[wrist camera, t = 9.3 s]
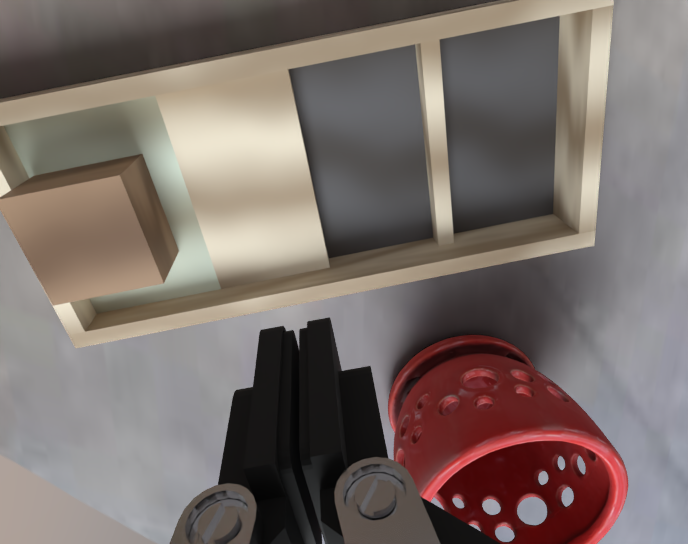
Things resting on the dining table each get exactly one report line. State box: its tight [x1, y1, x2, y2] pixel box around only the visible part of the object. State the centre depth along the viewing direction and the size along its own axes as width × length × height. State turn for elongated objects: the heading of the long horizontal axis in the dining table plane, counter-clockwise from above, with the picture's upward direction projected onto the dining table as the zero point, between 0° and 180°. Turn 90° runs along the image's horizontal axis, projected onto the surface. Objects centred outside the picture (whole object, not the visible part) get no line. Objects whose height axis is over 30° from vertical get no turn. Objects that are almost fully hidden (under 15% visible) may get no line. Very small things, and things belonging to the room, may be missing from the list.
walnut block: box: [0, 154, 179, 306], centre depth 26 cm, size 6×6×4 cm
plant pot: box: [388, 335, 628, 544], centre depth 33 cm, size 13×13×12 cm
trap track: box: [0, 0, 614, 348], centre depth 28 cm, size 14×32×4 cm, turn 100°
